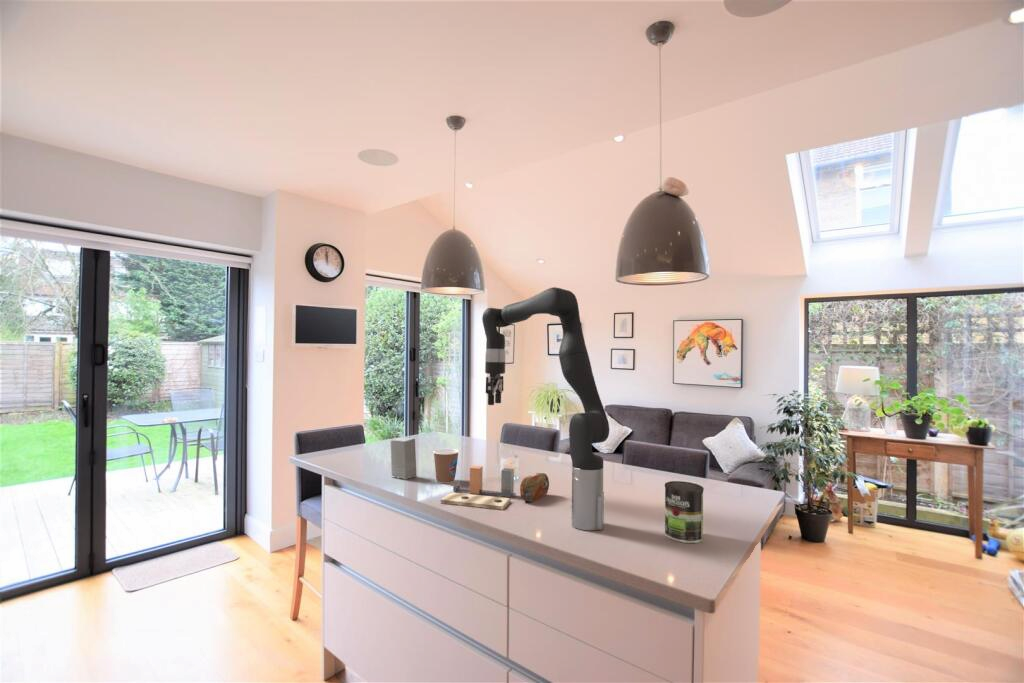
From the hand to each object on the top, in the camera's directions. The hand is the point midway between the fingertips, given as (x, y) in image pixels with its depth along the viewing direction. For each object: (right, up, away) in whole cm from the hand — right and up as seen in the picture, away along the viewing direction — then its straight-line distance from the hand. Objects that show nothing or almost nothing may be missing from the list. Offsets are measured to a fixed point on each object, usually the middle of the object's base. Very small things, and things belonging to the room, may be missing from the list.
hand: (494, 404), depth 174 cm
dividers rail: (-3, -32, -6) cm, 33 cm away
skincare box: (-38, -32, +16) cm, 53 cm away
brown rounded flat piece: (+14, -32, -11) cm, 37 cm away
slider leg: (-7, -32, -5) cm, 33 cm away
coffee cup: (-20, -33, +10) cm, 40 cm away
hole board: (-6, -31, -16) cm, 36 cm away
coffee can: (+55, -31, -44) cm, 77 cm away
